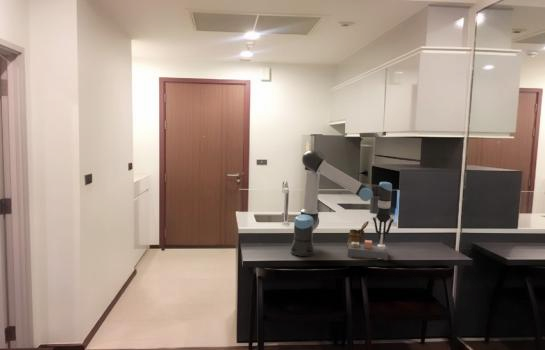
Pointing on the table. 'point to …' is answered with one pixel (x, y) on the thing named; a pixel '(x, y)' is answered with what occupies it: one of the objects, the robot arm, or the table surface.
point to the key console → (367, 252)
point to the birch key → (355, 244)
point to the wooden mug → (356, 234)
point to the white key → (380, 247)
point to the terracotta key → (368, 244)
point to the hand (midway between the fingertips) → (381, 244)
